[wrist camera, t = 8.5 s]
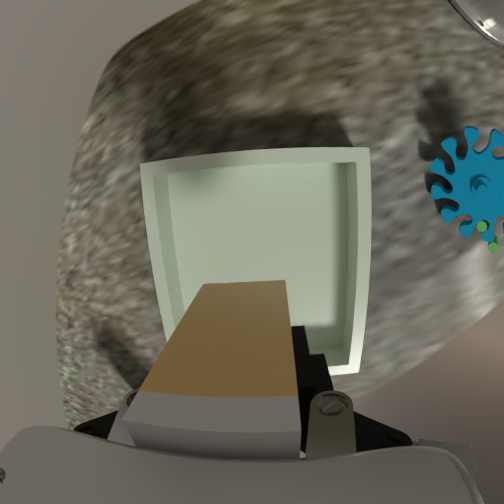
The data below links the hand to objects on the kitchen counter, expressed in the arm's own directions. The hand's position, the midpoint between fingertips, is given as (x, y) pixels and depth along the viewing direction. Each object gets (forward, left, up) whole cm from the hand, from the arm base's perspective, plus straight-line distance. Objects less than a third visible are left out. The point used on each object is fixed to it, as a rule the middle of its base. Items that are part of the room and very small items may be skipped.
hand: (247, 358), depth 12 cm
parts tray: (0, 0, -13) cm, 13 cm away
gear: (-19, -6, -13) cm, 24 cm away
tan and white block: (0, 0, -1) cm, 1 cm away
